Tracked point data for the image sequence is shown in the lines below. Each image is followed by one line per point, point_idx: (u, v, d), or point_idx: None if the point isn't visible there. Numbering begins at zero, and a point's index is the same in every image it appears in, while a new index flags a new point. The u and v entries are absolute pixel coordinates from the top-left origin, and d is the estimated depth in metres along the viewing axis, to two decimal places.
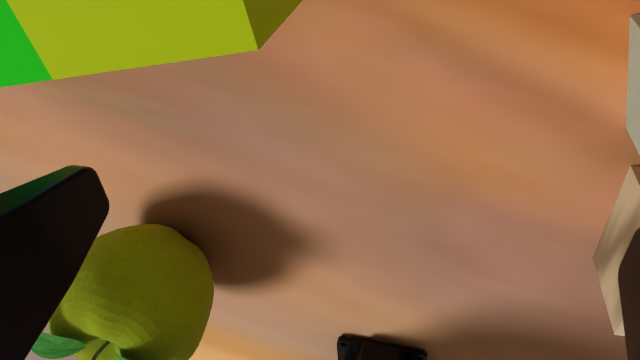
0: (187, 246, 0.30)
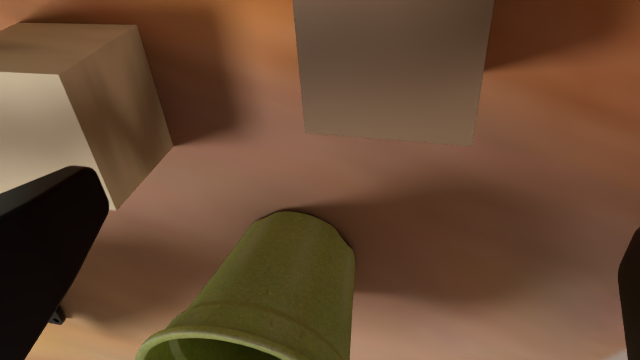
0: None
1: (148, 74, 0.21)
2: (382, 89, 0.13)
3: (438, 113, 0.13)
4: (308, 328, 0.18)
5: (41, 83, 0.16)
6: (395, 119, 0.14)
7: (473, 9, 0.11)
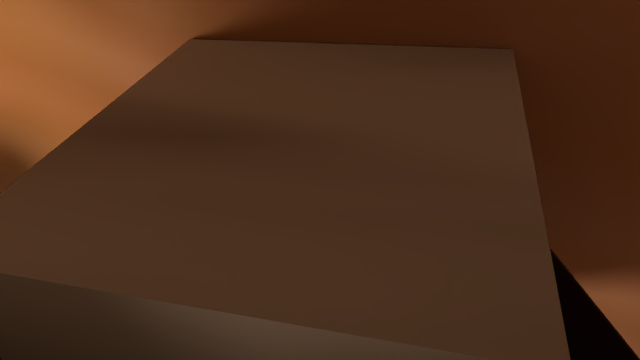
0: None
1: None
2: None
3: None
4: None
5: None
6: None
7: None
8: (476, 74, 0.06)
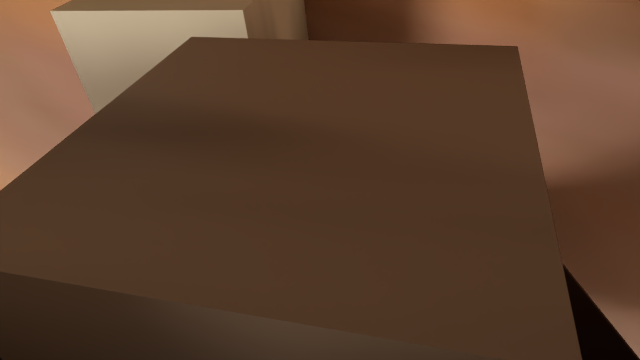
0: None
1: (305, 25, 0.17)
2: None
3: None
4: None
5: (215, 24, 0.12)
6: None
7: None
8: (480, 71, 0.06)
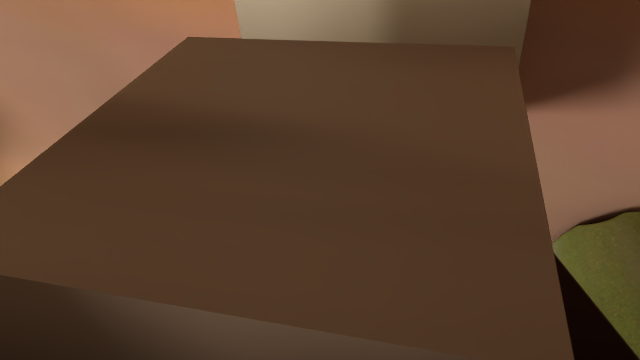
0: None
1: None
2: None
3: None
4: None
5: None
6: None
7: None
8: (477, 72, 0.06)
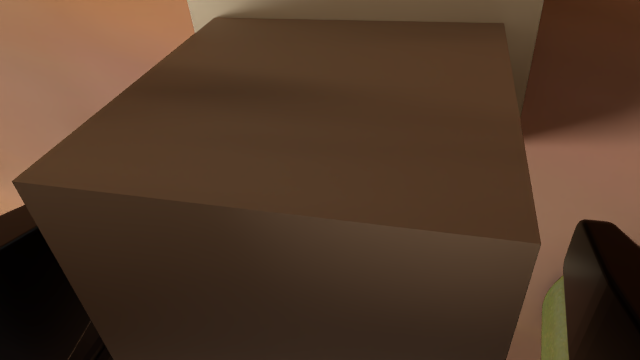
0: None
1: None
2: None
3: None
4: None
5: (483, 8, 0.07)
6: None
7: (461, 322, 0.04)
8: (471, 43, 0.07)
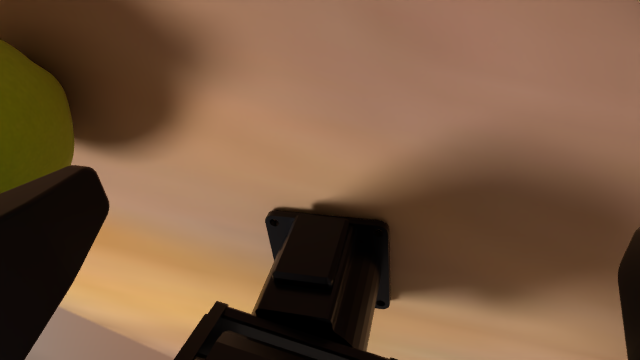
0: (19, 55, 0.20)
1: None
2: None
3: None
4: None
5: None
6: None
7: None
8: None
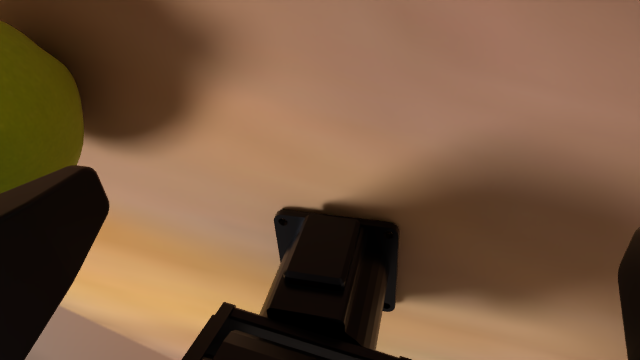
0: (32, 43, 0.20)
1: None
2: None
3: None
4: None
5: None
6: None
7: None
8: None
